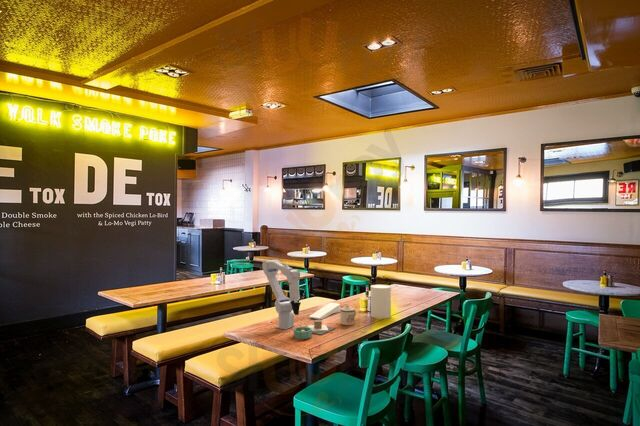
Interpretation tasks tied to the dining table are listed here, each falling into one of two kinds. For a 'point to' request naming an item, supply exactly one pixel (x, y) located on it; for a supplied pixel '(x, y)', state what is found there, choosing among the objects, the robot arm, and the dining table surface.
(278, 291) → the robot arm
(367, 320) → the dining table surface
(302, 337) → the bowl
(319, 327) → the cover
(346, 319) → the teacup with lid
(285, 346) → the dining table surface
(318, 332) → the mat
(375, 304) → the canister
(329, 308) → the white wedge ramp
